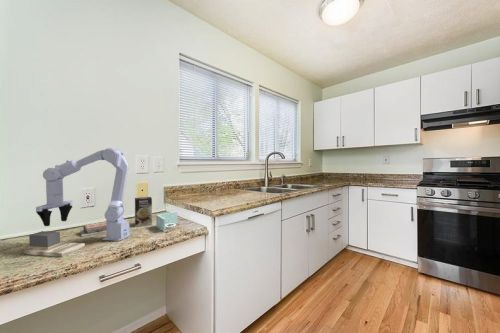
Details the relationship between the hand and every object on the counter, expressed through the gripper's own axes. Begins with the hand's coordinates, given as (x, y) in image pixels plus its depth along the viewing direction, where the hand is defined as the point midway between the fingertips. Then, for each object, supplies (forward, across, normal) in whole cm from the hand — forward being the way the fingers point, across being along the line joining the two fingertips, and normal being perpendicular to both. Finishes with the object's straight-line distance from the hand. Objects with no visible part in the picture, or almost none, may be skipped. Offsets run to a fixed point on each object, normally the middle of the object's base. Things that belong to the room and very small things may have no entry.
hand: (55, 223), depth 99 cm
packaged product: (+10, -19, +6) cm, 22 cm away
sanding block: (+8, +6, +2) cm, 10 cm away
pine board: (+9, +7, +8) cm, 14 cm away
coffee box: (+10, -32, +22) cm, 40 cm away
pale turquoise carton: (+10, -30, +40) cm, 51 cm away
